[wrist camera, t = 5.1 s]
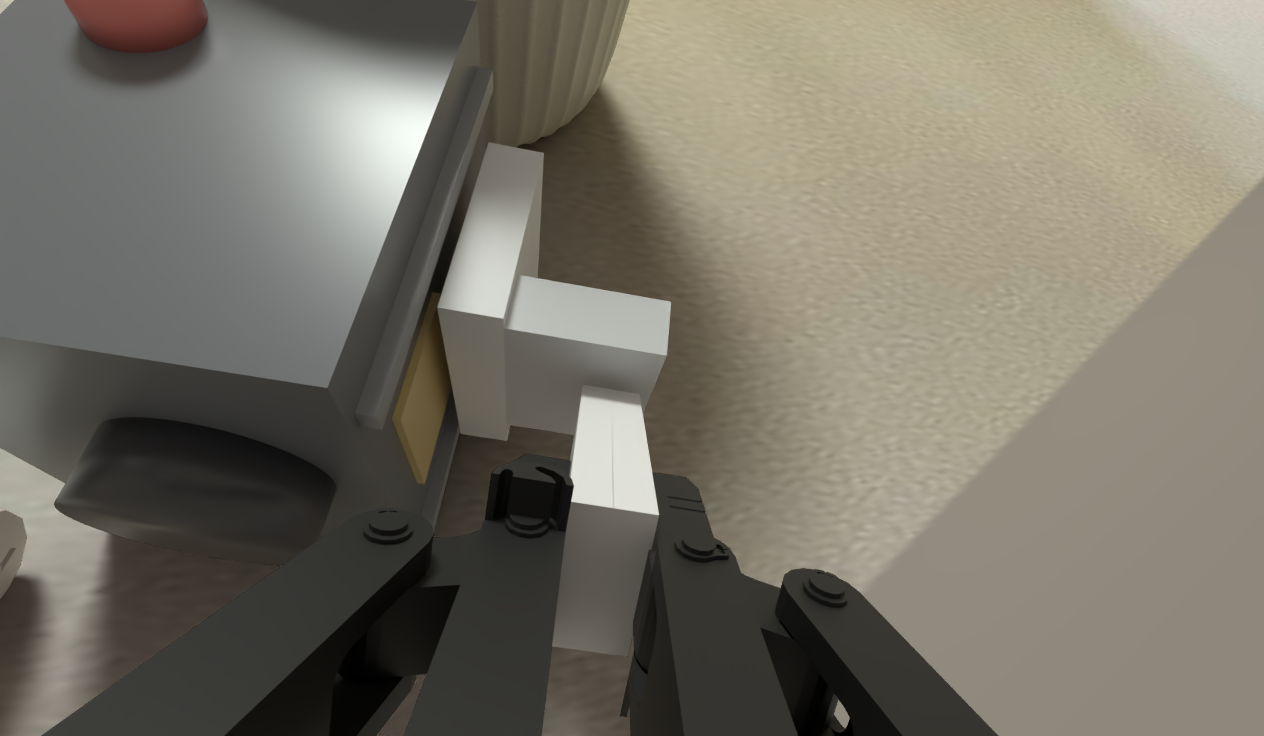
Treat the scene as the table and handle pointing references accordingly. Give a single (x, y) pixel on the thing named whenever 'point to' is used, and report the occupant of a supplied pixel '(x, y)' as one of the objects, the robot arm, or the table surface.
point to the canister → (543, 62)
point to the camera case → (234, 260)
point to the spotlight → (10, 547)
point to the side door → (534, 316)
